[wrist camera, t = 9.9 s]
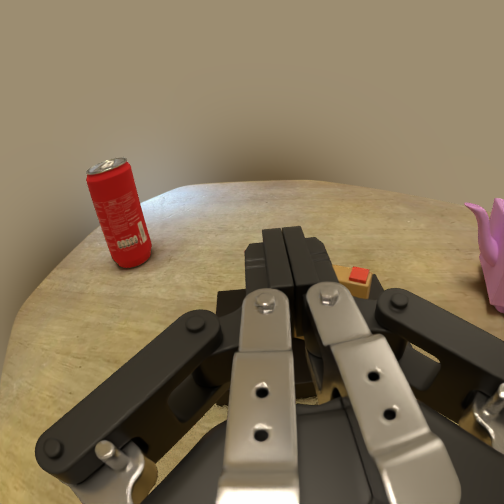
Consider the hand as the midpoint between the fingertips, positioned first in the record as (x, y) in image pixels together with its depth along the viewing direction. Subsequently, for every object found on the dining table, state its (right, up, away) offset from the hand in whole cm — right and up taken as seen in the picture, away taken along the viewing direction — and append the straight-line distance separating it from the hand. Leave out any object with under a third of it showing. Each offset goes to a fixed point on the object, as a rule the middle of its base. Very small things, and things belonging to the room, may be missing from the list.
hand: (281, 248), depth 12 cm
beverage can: (-15, -1, +24) cm, 29 cm away
